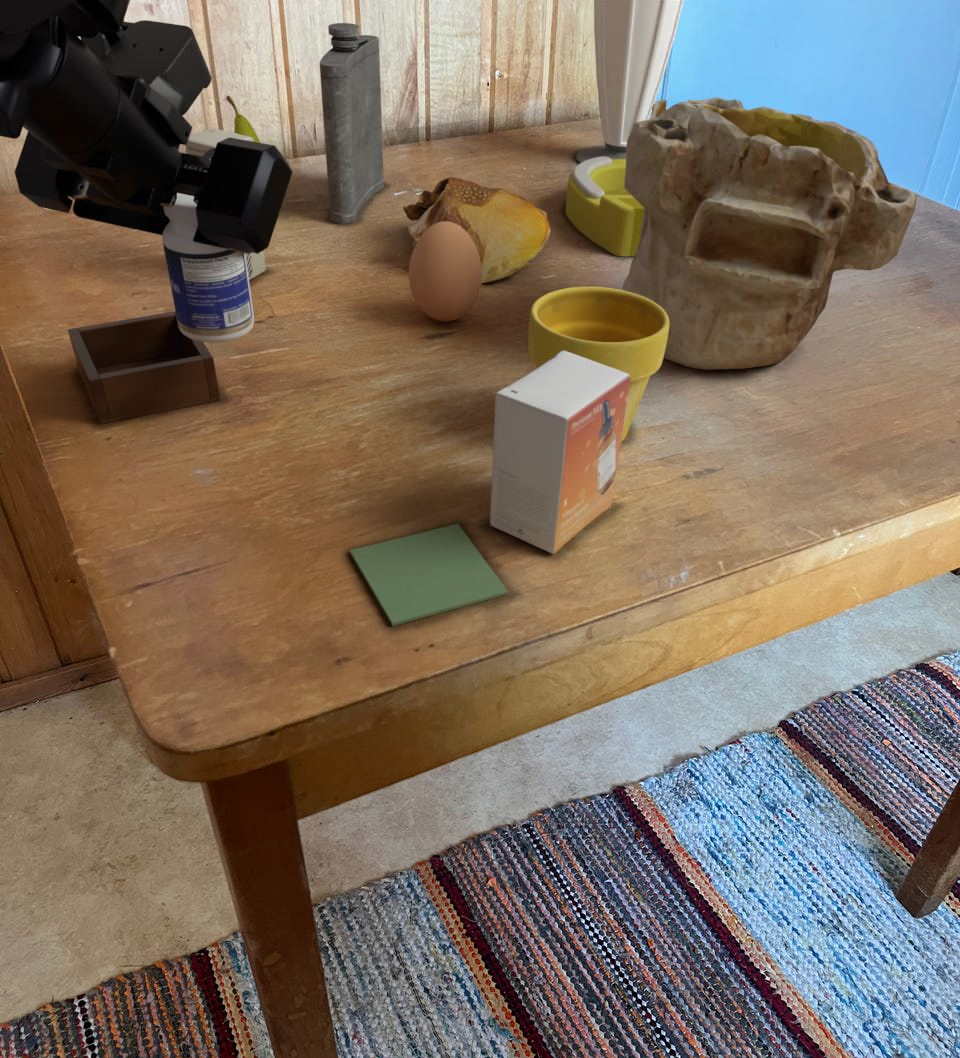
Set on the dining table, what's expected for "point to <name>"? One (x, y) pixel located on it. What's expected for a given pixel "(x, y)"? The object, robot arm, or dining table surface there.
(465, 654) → the dining table surface
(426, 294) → the egg
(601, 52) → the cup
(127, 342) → the compartment
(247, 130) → the fruit
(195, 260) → the pill bottle
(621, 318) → the flower pot
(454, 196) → the seashell
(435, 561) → the mat
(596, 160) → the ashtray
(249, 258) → the box
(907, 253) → the dining table surface
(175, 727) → the dining table surface
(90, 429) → the dining table surface
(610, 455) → the small box
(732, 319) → the ceramic vessel
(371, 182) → the flask
